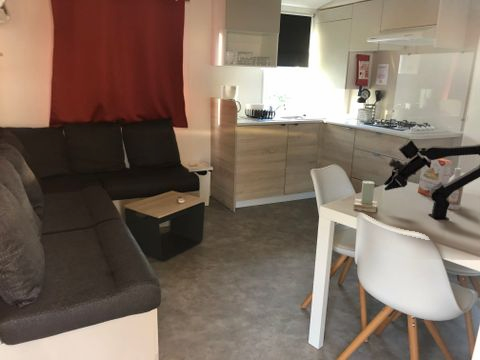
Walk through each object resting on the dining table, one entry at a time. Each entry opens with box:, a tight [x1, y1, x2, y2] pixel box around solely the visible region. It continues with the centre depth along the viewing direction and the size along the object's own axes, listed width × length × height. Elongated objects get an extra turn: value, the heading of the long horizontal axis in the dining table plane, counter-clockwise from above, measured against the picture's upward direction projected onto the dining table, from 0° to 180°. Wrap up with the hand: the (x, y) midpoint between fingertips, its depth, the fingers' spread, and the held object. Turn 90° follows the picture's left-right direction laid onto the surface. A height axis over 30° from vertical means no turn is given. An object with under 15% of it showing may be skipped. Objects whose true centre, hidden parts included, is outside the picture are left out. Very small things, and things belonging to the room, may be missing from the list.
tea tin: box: [360, 180, 376, 204], centre depth 192 cm, size 5×5×10 cm
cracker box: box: [417, 156, 453, 198], centre depth 217 cm, size 14×6×21 cm, turn 25°
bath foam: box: [447, 167, 464, 211], centre depth 197 cm, size 7×7×20 cm
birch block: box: [353, 198, 378, 213], centre depth 193 cm, size 10×10×3 cm
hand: (384, 187), depth 189 cm, fingers open, 9 cm apart
